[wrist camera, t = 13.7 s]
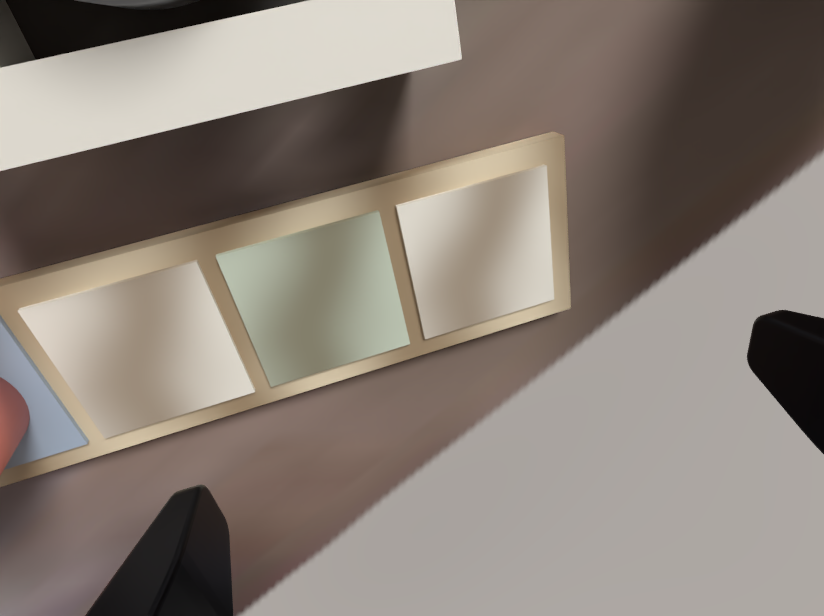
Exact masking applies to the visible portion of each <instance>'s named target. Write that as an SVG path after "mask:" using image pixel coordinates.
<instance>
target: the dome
mask: <svg viewBox="0 0 824 616" xmlns="http://www.w3.org/2000/svg"><path fill="white" fill-rule="evenodd" d="M76 1H83V2H89V3H96V4H102V5H108V6H115V7H122V8H129V9H136V10H160V9H167V8H175V7H180V6H184V5H187V4H190V3H194V2H197V1H200V0H76Z"/></svg>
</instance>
